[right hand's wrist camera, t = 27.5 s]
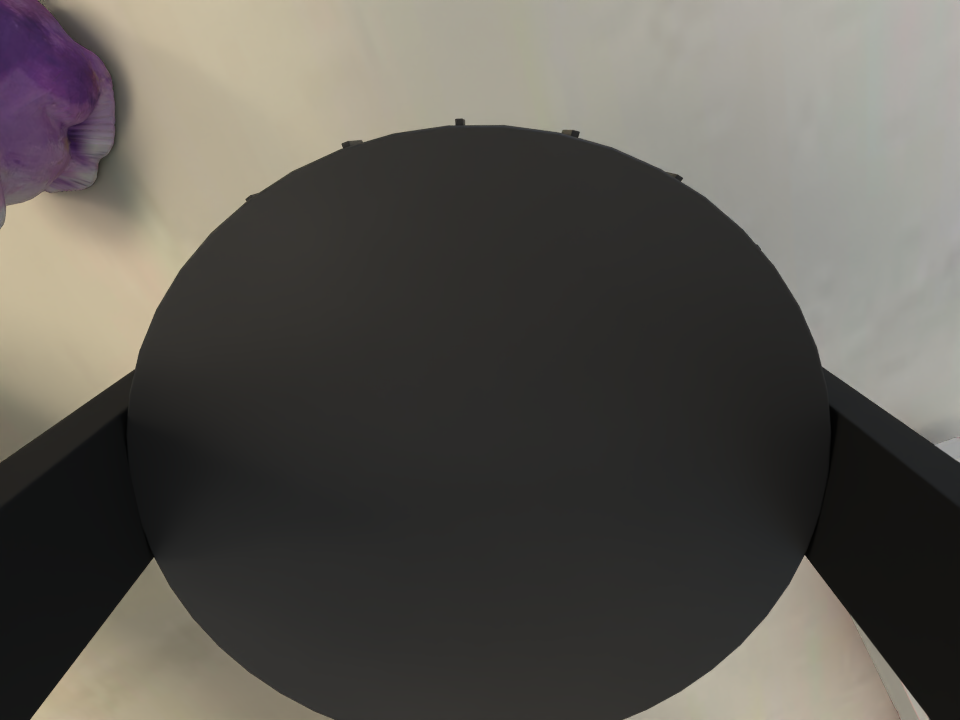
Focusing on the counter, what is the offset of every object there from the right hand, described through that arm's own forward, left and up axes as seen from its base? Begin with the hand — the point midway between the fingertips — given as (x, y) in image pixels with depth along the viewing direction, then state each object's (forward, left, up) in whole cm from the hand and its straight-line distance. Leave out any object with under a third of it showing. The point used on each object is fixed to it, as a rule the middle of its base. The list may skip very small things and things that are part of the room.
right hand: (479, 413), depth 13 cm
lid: (0, 0, +3) cm, 3 cm away
